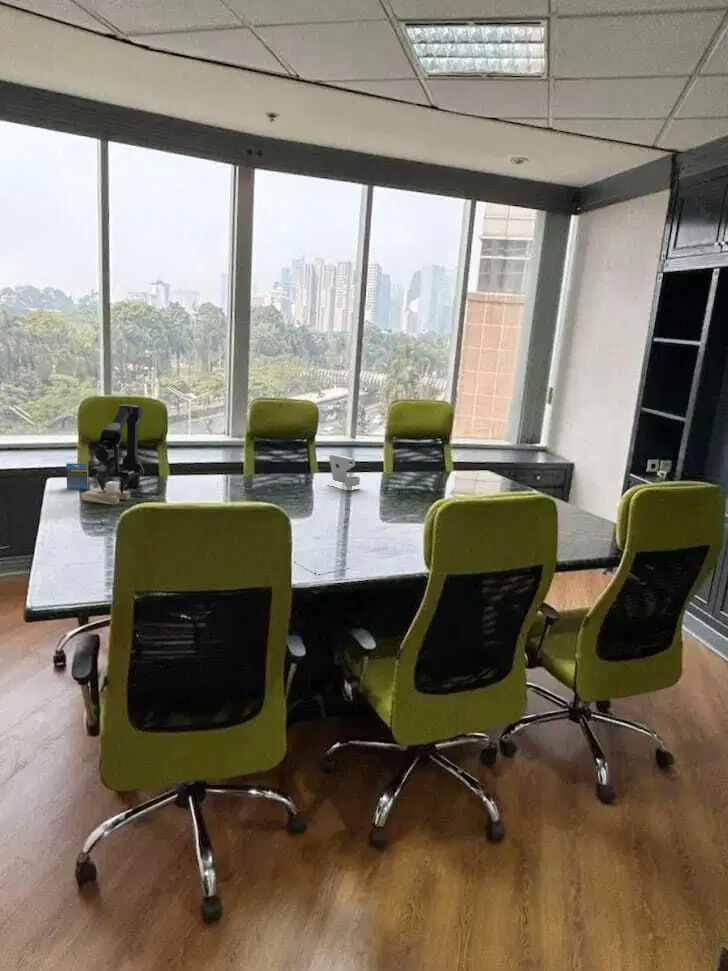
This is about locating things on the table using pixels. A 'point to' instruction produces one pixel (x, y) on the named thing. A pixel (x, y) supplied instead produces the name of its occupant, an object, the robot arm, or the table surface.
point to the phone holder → (343, 469)
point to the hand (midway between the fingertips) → (112, 491)
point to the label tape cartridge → (77, 476)
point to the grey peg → (112, 488)
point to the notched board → (104, 496)
